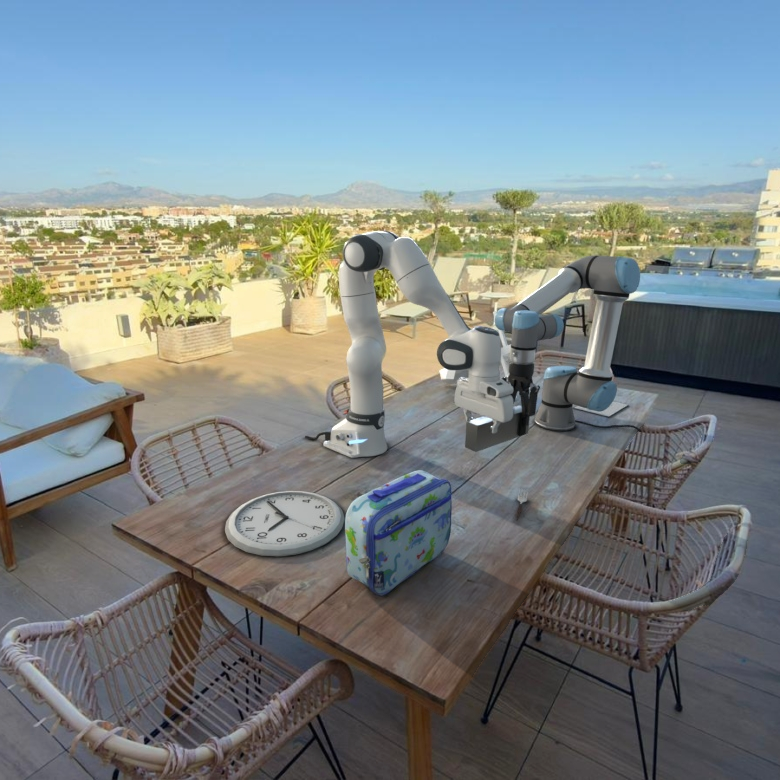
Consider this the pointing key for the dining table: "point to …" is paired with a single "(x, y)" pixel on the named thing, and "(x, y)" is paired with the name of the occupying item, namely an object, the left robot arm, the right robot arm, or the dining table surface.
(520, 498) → the fork
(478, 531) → the dining table surface
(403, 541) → the lunch box
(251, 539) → the wall clock
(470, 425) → the bar
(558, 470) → the dining table surface
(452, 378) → the white plastic object
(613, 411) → the invitation card
